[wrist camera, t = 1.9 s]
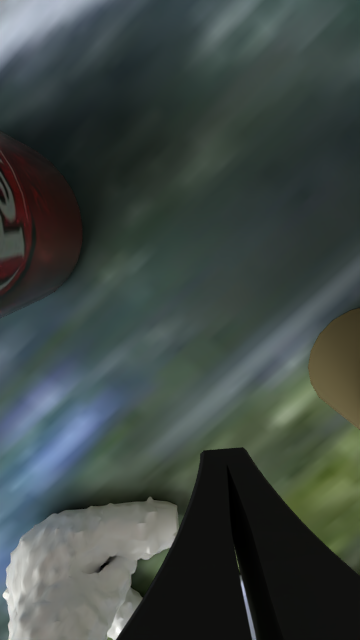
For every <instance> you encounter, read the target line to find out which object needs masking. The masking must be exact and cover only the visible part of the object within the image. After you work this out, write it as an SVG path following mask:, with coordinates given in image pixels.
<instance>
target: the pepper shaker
mask: <svg viewBox="0 0 360 640" xmlns="http://www.w3.org/2000/svg"><path fill="white" fill-rule="evenodd" d="M308 369H309V375H310V381H311V384H312V386H313V388H314V389H315V391H316V393H317V395H318V396H319V398H321V399H322V400H323V401H324V402H326V403H327V404H328V405H329V406H330V407H332V408H333V409H334V410H335V411H337V412H338V413H339V414H341V415H342V416H343V417H344V418H346V419H347V420H348V421H349V422H351V423H352V424H353V425H354V426H356V427H357V428H358V429H359V430H360V308H358V309H354V310H350V311H348V312H347V313H345V314H343V315H341V316H340V317H338V318H336V319H334V320H333V321H332V322H331V323H330V324H329V325H328V326H327V327H326V328H325V329H324V330H323V331H322V332H321V333H320V334H319V336H318V338H317V340H316V342H315V344H314V346H313V348H312V350H311V353H310V359H309V365H308Z"/></svg>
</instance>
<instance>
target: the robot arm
mask: <svg viewBox="0 0 360 640" xmlns="http://www.w3.org/2000/svg"><path fill="white" fill-rule="evenodd" d="M234 547H235V549H234ZM235 552H236V554H235ZM236 556H237V559H236ZM237 560H238V564H239V568H240V572H241V575H239V570H238V565H237ZM116 640H360V575H358V574H357V573H356V572H355V571H354V570H352V569H351V568H350V567H349V566H348V565H347V564H346V563H345V562H343V561H342V560H341V559H340V558H339V557H338V556H337V555H336V554H334V553H333V552H332V551H331V550H330V549H329V548H328V547H327V546H326V545H325V544H324V543H323V542H322V541H321V540H320V539H319V538H318V537H317V536H316V535H315V534H314V533H313V532H312V531H311V530H310V529H309V528H308V527H307V526H306V525H305V524H304V523H303V522H302V521H301V520H300V519H299V518H298V517H297V516H296V514H295V513H294V512H293V511H292V510H291V509H290V508H289V507H288V506H287V504H286V503H285V502H284V501H283V500H282V499H281V497H280V496H279V495H278V494H277V492H276V491H275V490H274V489H273V487H272V486H271V485H270V484H269V482H268V481H267V480H266V479H265V477H264V476H263V475H262V473H261V472H260V470H259V469H258V468H257V466H256V465H255V463H254V462H253V460H252V459H251V457H250V456H249V454H248V452H247V451H246V450H245V449H244V448H243V447H242V448H229V449H217V450H205V451H203V452H202V453H201V454H200V465H199V470H198V475H197V479H196V483H195V486H194V489H193V492H192V495H191V499H190V502H189V505H188V507H187V510H186V512H185V515H184V518H183V520H182V523H181V525H180V528H179V530H178V532H177V535H176V537H175V539H174V541H173V543H172V546H171V548H170V550H169V552H168V554H167V556H166V558H165V560H164V562H163V564H162V565H161V567H160V569H159V571H158V573H157V574H156V576H155V578H154V580H153V582H152V583H151V585H150V587H149V589H148V590H147V592H146V594H145V596H144V597H143V599H142V600H141V602H140V604H139V605H138V607H137V608H136V610H135V611H134V613H133V614H132V616H131V617H130V619H129V620H128V622H127V623H126V625H125V626H124V628H123V629H122V631H121V632H120V634H119V635H118V637H117V639H116Z"/></svg>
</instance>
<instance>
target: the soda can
mask: <svg viewBox="0 0 360 640" xmlns="http://www.w3.org/2000/svg"><path fill="white" fill-rule="evenodd" d="M81 245H82V220H81V215H80V209H79V206H78V204H77V201H76V198H75V196H74V193H73V191H72V190H71V188H70V186H69V185H68V183H67V181H66V180H65V178H64V177H63V175H62V174H61V173H60V172H59V171H58V170H57V169H56V167H55V166H54V165H53V164H52V163H51V162H50V161H48V160H47V159H46V158H45V157H43V156H42V155H41V154H40V153H38V152H37V151H35V150H33V149H32V148H30V147H28V146H26V145H25V144H23V143H21V142H19V141H17V140H16V139H14V138H12V137H10V136H9V135H7V134H5V133H3V132H1V131H0V318H2V317H4V316H7V315H9V314H11V313H13V312H15V311H17V310H19V309H22V308H24V307H26V306H28V305H30V304H32V303H34V302H37V301H39V300H41V299H43V298H45V297H46V296H48V295H50V294H51V293H53V292H55V291H56V290H57V289H58V288H59V287H60V286H61V285H62V284H63V283H64V282H65V281H66V280H67V278H68V277H69V275H70V274H71V273H72V271H73V270H74V267H75V265H76V263H77V260H78V258H79V255H80V250H81Z"/></svg>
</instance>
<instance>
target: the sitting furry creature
mask: <svg viewBox="0 0 360 640" xmlns="http://www.w3.org/2000/svg"><path fill="white" fill-rule="evenodd" d="M178 530H179V524H178V511H177V505H175V504H173V503H170V502H168V501H158V500H153V499H152V497H149V498H148V499H147V501H143V502H139V501H138V502H137V501H135V502H128V503H120V504H113V503H109V504H108V505H105V506H90V507H88V508H87V509H77V510H64V511H62V512H60V513H58V514H56V513H54V514H51V515H50V516H48V517H47V518H46V519H45V520H44V521H42V522H40V523H39V524H36V525H34V527H33V528H32V529H31V530H30V531H28V532H27V533H26V534H24V535H23V536H22V537H21V539H20V542H19V544H18V547H17V548H16V549H15V550H14V551H13V552H12V553H11V563H10V565H9V566H8V567H7V569H6V572H7V579H6V585H7V589H6V591H5V592H4V594H3V597H4V598H5V599H6V600H7V603H8V612H9V616H10V622H9V624H8V627H9V632H10V634H9V639H8V640H106V639H107V636H108V637H111V638H112V639H113V640H116V639H117V637H118V635H119V634H120V632H121V631H122V629H123V628H124V626H125V625H126V623H127V622H128V620H129V619H130V617H131V616H132V614H133V613H134V611H135V610H136V608H137V607H138V605H139V604H140V602H141V600H142V599H143V597H141V596H140V593H139V592H137V591H136V590H134V589H132V588H131V587H130V586H131V574H133V573H135V571H136V567H137V560H138V559H140V558H142V559H144V560H147V559H150V558H151V557H152V556H153V555H155V554H157V553H160V552H161V551H162V550H164V549H167V548H170V547H171V546H172V543H173V541H174V539H175V537H176V535H177V532H178ZM104 563H107V564H108V565H106V566H105V567H104V568H102V567H101V566H102V565H103V564H104Z"/></svg>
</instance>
